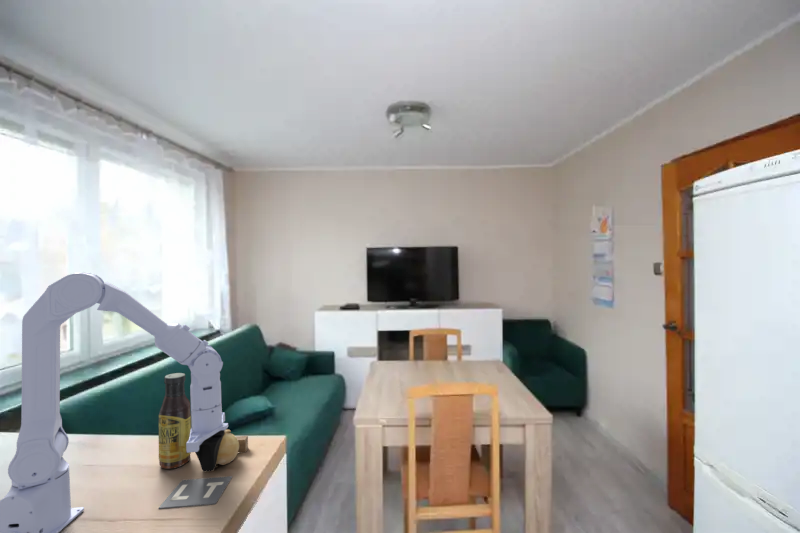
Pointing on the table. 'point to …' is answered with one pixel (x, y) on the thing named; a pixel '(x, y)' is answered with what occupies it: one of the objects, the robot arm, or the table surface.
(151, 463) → the table surface
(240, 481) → the table surface
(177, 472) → the table surface
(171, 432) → the sauce bottle
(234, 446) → the onion
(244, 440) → the rail
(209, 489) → the card
